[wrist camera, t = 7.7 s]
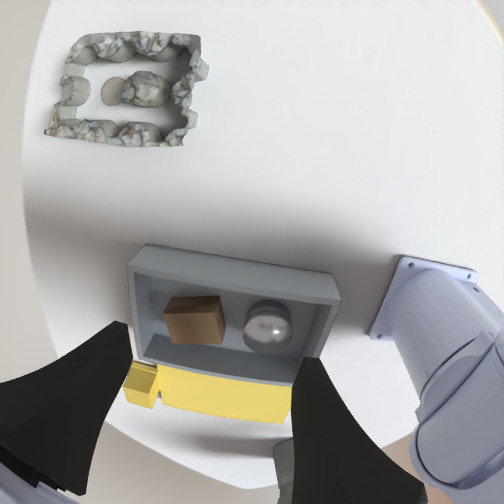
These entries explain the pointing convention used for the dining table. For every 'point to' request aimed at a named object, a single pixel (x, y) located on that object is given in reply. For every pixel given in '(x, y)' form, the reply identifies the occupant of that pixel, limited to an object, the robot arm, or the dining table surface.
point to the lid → (207, 394)
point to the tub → (228, 312)
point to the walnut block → (195, 320)
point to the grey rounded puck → (267, 327)
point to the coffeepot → (284, 469)
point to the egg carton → (127, 87)
